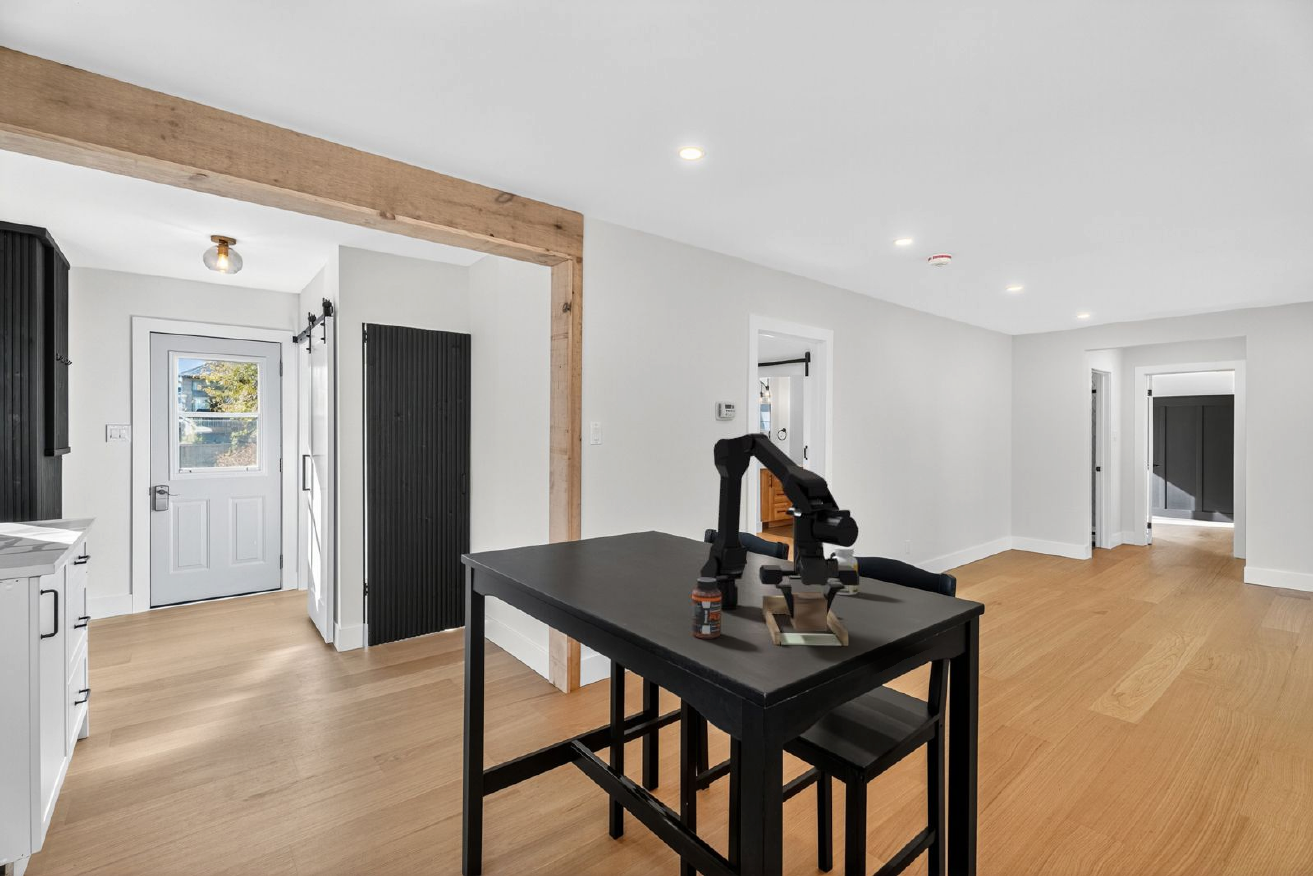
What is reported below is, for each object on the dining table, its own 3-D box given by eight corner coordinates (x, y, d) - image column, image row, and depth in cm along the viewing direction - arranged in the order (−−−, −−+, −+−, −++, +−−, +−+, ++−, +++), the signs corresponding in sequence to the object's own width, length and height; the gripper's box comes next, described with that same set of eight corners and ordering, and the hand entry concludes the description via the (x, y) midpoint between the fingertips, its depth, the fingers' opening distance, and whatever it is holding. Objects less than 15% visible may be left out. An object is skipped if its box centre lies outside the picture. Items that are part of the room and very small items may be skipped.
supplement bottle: (713, 641, 121) (713, 584, 121) (686, 636, 125) (686, 580, 125) (726, 633, 126) (726, 578, 126) (700, 628, 130) (700, 574, 130)
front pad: (781, 644, 120) (781, 642, 120) (777, 634, 126) (777, 633, 126) (841, 645, 119) (841, 644, 119) (834, 635, 125) (834, 634, 125)
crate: (795, 630, 120) (795, 599, 120) (790, 621, 126) (789, 591, 126) (827, 631, 120) (827, 600, 120) (820, 621, 126) (820, 592, 126)
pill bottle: (854, 590, 162) (854, 545, 162) (860, 596, 156) (860, 550, 156) (829, 589, 163) (829, 545, 163) (833, 595, 156) (833, 549, 156)
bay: (774, 644, 120) (774, 623, 120) (762, 613, 141) (762, 595, 141) (848, 645, 119) (848, 624, 119) (825, 614, 140) (825, 596, 140)
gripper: (765, 546, 115) (765, 630, 115) (867, 547, 114) (867, 631, 114) (758, 537, 127) (759, 613, 127) (851, 537, 125) (852, 614, 125)
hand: (808, 618), depth 123 cm, fingers closed on crate, 6 cm apart
